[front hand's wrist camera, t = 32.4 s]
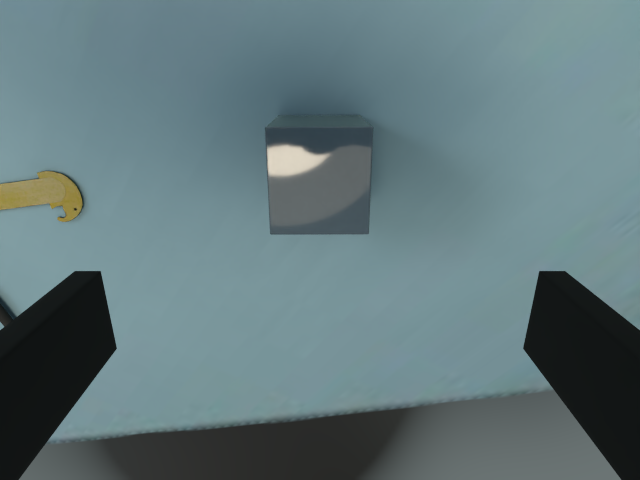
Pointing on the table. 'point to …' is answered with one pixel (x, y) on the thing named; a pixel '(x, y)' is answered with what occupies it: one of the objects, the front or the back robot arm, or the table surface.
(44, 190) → the bottle opener
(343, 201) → the grey rectangular block
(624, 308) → the table surface
